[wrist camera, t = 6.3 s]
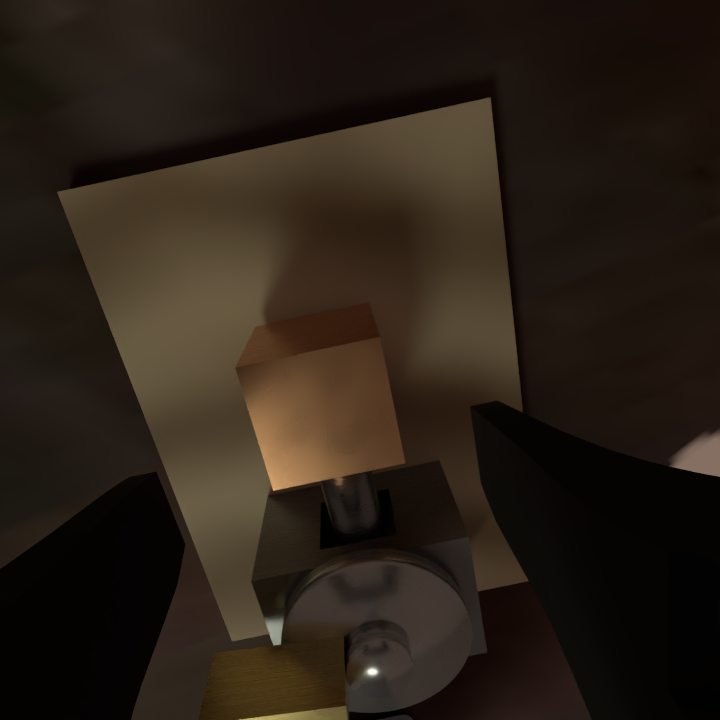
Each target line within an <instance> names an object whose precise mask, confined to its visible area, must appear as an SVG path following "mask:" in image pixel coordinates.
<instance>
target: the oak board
mask: <svg viewBox="0 0 720 720" xmlns="http://www.w3.org/2000/svg"><path fill="white" fill-rule="evenodd" d="M57 193H58V195H59V198H60V200H61V203H62V205H63V208H64V210H65V213H66V216H67V218H68V221H69V223H70V226H71V228H72V231H73V234H74V236H75V239H76V241H77V244H78V246H79V249H80V252H81V254H82V257H83V259H84V262H85V264H86V267H87V270H88V272H89V275H90V277H91V280H92V282H93V285H94V288H95V290H96V293H97V295H98V298H99V300H100V303H101V306H102V308H103V311H104V313H105V316H106V318H107V321H108V324H109V326H110V329H111V331H112V334H113V336H114V339H115V342H116V344H117V347H118V349H119V352H120V354H121V357H122V359H123V362H124V365H125V367H126V370H127V372H128V375H129V377H130V380H131V383H132V385H133V388H134V390H135V393H136V395H137V398H138V401H139V403H140V406H141V408H142V411H143V413H144V416H145V419H146V421H147V424H148V426H149V429H150V431H151V434H152V437H153V439H154V442H155V444H156V447H157V449H158V452H159V455H160V457H161V460H162V462H163V465H164V467H165V470H166V473H167V475H168V478H169V480H170V483H171V485H172V488H173V491H174V493H175V496H176V498H177V501H178V503H179V506H180V508H181V511H182V514H183V516H184V519H185V521H186V524H187V526H188V529H189V532H190V534H191V537H192V539H193V542H194V544H195V547H196V550H197V552H198V555H199V557H200V560H201V562H202V565H203V568H204V570H205V573H206V575H207V578H208V580H209V583H210V586H211V588H212V591H213V593H214V596H215V598H216V601H217V604H218V606H219V609H220V611H221V614H222V616H223V619H224V622H225V624H226V627H227V629H228V632H229V634H230V637H231V640H232V641H236V640H241V639H246V638H251V637H256V636H261V635H266V634H269V631H268V628H267V625H266V622H265V620H264V617H263V614H262V611H261V608H260V605H259V603H258V600H257V597H256V594H255V591H254V588H253V586H252V583H251V579H252V574H253V569H254V563H255V558H256V553H257V548H258V543H259V538H260V533H261V527H262V522H263V517H264V512H265V507H266V502H267V497H268V496H269V495H274V494H279V493H284V492H289V491H293V490H298V489H303V488H308V487H313V486H318V485H321V483H320V481H318V482H313V483H308V484H304V485H299V486H294V487H289V488H284V489H279V490H275V491H273V488H272V485H271V482H270V479H269V475H268V472H267V469H266V466H265V462H264V459H263V456H262V453H261V450H260V446H259V443H258V440H257V437H256V433H255V430H254V427H253V424H252V420H251V417H250V414H249V411H248V408H247V404H246V401H245V398H244V395H243V391H242V388H241V385H240V382H239V378H238V375H237V372H236V369H235V367H236V365H237V363H238V361H239V359H240V357H241V355H242V353H243V351H244V349H245V347H246V345H247V343H248V341H249V339H250V337H251V335H252V332H253V330H254V328H255V327H256V326H261V325H266V324H270V323H275V322H280V321H285V320H289V319H294V318H299V317H303V316H308V315H313V314H317V313H322V312H327V311H331V310H336V309H341V308H346V307H350V306H355V305H360V304H364V303H370V306H371V309H372V312H373V316H374V319H375V322H376V325H377V328H378V331H379V335H380V338H381V343H382V348H383V353H384V358H385V363H386V368H387V373H388V378H389V384H390V389H391V394H392V399H393V404H394V409H395V414H396V419H397V424H398V429H399V434H400V439H401V444H402V449H403V454H404V459H405V464H400V465H395V466H390V467H385V468H381V469H376V470H372V473H373V474H375V473H380V472H385V471H390V470H395V469H400V468H404V467H409V466H414V465H419V464H424V463H428V462H433V461H438V460H440V463H441V466H442V468H443V471H444V473H445V476H446V478H447V481H448V484H449V486H450V489H451V491H452V494H453V497H454V499H455V502H456V504H457V507H458V510H459V512H460V515H461V517H462V520H463V522H464V525H465V528H466V530H467V533H468V535H469V540H470V546H471V552H472V559H473V565H474V571H475V577H476V584H477V590H478V591H482V590H487V589H492V588H497V587H502V586H507V585H512V584H517V583H522V582H527V581H528V579H527V577H526V575H525V574H524V572H523V570H522V568H521V566H520V565H519V563H518V561H517V559H516V557H515V556H514V554H513V552H512V550H511V548H510V547H509V545H508V543H507V541H506V539H505V537H504V536H503V534H502V532H501V530H500V528H499V526H498V525H497V523H496V521H495V518H494V516H493V513H492V511H491V508H490V506H489V503H488V501H487V498H486V496H485V493H484V490H483V488H482V485H481V481H480V474H479V467H478V460H477V453H476V446H475V439H474V432H473V425H472V418H471V411H470V406H473V405H478V404H483V403H488V402H493V401H499V402H502V403H504V404H506V405H508V406H510V407H512V408H514V409H516V410H518V411H520V412H523V408H522V398H521V388H520V379H519V369H518V359H517V350H516V340H515V330H514V320H513V311H512V301H511V291H510V282H509V272H508V262H507V253H506V243H505V233H504V223H503V214H502V204H501V194H500V185H499V175H498V165H497V155H496V146H495V136H494V126H493V117H492V107H491V97H490V98H485V99H481V100H476V101H472V102H467V103H462V104H458V105H453V106H449V107H444V108H440V109H435V110H430V111H426V112H421V113H417V114H412V115H408V116H403V117H398V118H394V119H389V120H385V121H380V122H376V123H371V124H366V125H362V126H357V127H353V128H348V129H344V130H339V131H334V132H330V133H325V134H321V135H316V136H312V137H307V138H302V139H298V140H293V141H289V142H284V143H280V144H275V145H270V146H266V147H261V148H257V149H252V150H248V151H243V152H238V153H234V154H229V155H225V156H220V157H215V158H211V159H206V160H202V161H197V162H193V163H188V164H183V165H179V166H174V167H170V168H165V169H161V170H156V171H151V172H147V173H142V174H138V175H133V176H129V177H124V178H119V179H115V180H110V181H106V182H101V183H97V184H92V185H87V186H83V187H78V188H74V189H69V190H65V191H60V192H57Z"/></svg>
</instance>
